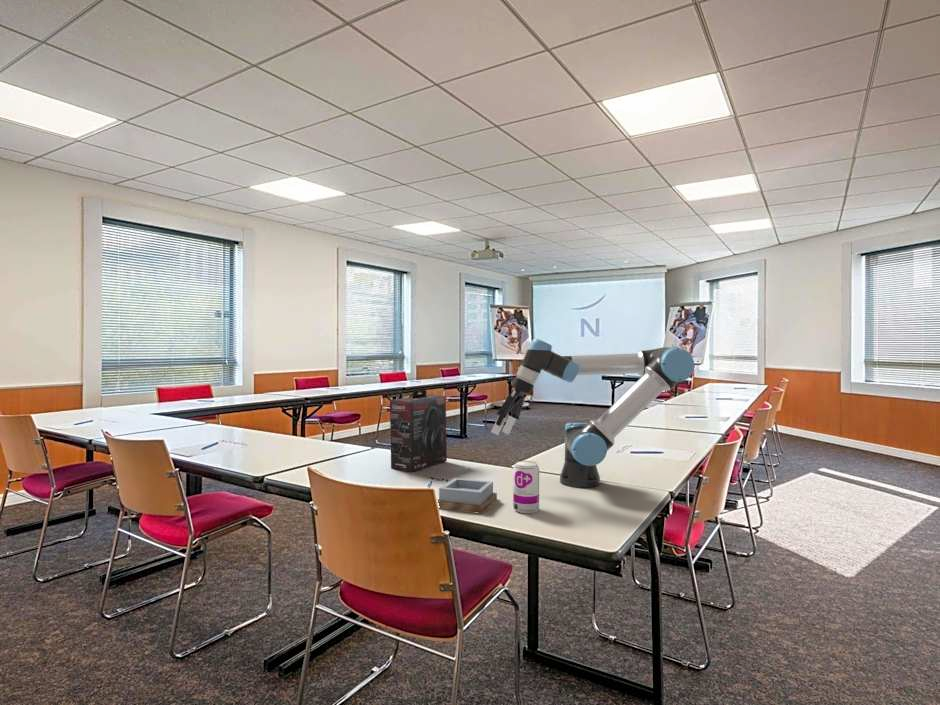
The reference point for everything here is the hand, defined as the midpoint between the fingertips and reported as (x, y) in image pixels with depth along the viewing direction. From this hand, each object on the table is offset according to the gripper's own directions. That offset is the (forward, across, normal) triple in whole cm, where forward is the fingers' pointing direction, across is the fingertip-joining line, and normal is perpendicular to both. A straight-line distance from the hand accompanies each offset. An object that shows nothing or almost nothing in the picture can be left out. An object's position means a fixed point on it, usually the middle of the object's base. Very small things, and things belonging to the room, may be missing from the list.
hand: (500, 433), depth 189 cm
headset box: (+34, -28, -34) cm, 56 cm away
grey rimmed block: (+22, +16, +3) cm, 27 cm away
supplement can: (+16, +15, +22) cm, 31 cm away
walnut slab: (+24, +15, +4) cm, 29 cm away
